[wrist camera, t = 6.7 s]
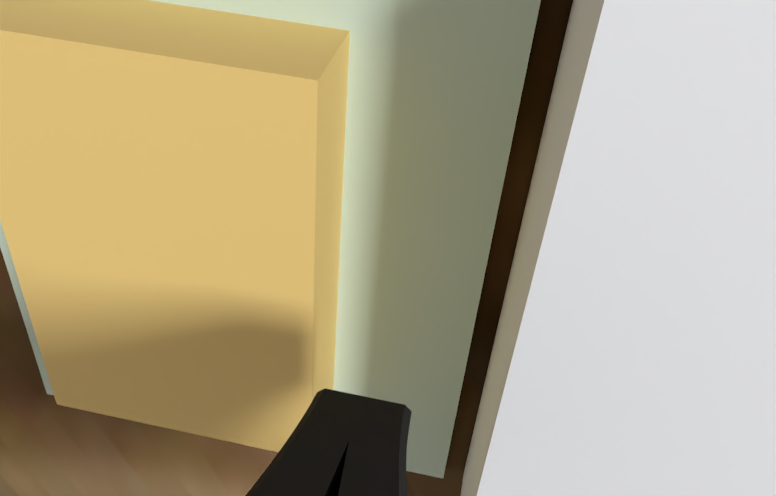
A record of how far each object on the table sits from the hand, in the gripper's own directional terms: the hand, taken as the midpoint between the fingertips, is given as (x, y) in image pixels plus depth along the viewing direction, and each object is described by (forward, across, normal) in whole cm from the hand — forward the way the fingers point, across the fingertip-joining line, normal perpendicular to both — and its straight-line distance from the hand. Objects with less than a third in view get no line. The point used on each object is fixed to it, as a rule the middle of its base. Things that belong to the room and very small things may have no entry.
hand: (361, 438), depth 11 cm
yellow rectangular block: (+3, +4, 0) cm, 5 cm away
